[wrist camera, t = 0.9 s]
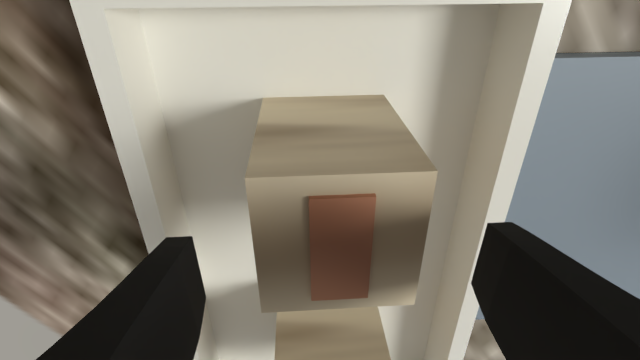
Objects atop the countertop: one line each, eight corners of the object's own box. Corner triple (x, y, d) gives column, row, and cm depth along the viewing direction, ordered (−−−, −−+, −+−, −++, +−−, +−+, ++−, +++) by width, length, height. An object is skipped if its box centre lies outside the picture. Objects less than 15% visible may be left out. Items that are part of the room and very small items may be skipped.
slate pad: (671, 296, 22) (683, 307, 21) (454, 308, 21) (460, 320, 20) (837, 47, 15) (863, 51, 14) (519, 54, 14) (531, 58, 13)
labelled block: (375, 195, 16) (416, 308, 11) (271, 199, 16) (260, 317, 11) (383, 94, 14) (440, 174, 9) (263, 97, 14) (244, 181, 8)
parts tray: (430, 361, 23) (447, 410, 21) (213, 375, 23) (202, 428, 20) (521, -31, 13) (580, -30, 10) (111, -28, 12) (60, -27, 9)
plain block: (364, 331, 21) (388, 454, 15) (283, 336, 20) (280, 462, 15) (369, 271, 18) (399, 392, 13) (278, 276, 18) (272, 400, 13)
